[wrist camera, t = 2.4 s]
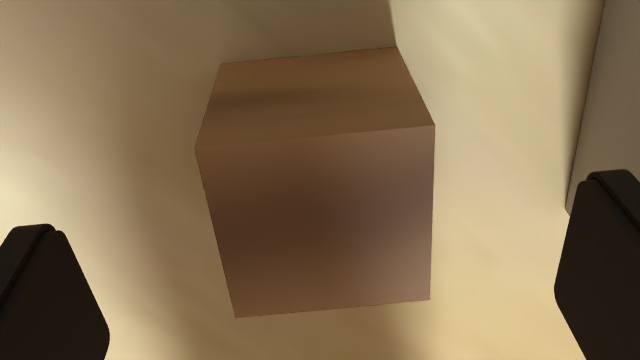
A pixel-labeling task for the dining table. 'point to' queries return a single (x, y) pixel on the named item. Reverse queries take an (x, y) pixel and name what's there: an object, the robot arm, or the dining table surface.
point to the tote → (611, 98)
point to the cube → (319, 181)
